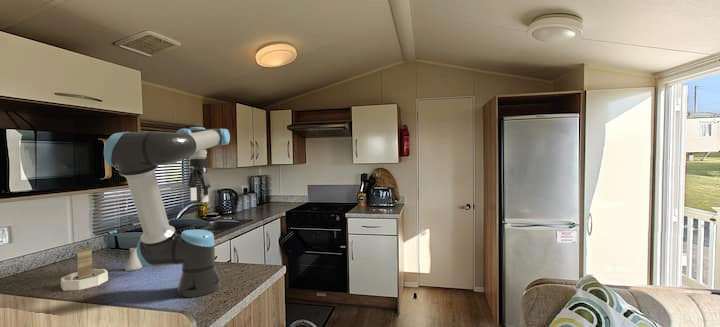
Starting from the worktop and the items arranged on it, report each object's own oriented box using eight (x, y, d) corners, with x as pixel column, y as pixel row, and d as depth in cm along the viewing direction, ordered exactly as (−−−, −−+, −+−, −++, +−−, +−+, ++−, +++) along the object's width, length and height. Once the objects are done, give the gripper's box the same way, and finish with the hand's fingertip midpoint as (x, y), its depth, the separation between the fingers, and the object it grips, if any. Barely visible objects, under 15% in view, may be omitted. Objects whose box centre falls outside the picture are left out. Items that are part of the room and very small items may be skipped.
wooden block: (92, 280, 138) (91, 248, 138) (78, 284, 134) (77, 250, 134) (91, 279, 139) (90, 247, 139) (77, 282, 136) (76, 249, 136)
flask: (127, 272, 150) (127, 251, 150) (122, 269, 154) (121, 249, 154) (145, 268, 156) (144, 247, 156) (139, 265, 160) (139, 245, 160)
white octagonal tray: (110, 282, 138) (110, 273, 138) (64, 293, 127) (64, 283, 127) (102, 275, 147) (102, 266, 147) (59, 284, 136) (59, 275, 136)
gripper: (217, 157, 153) (218, 202, 153) (195, 159, 170) (196, 199, 170) (201, 157, 148) (202, 203, 148) (180, 159, 164) (181, 200, 164)
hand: (199, 201), depth 159 cm, fingers open, 13 cm apart
